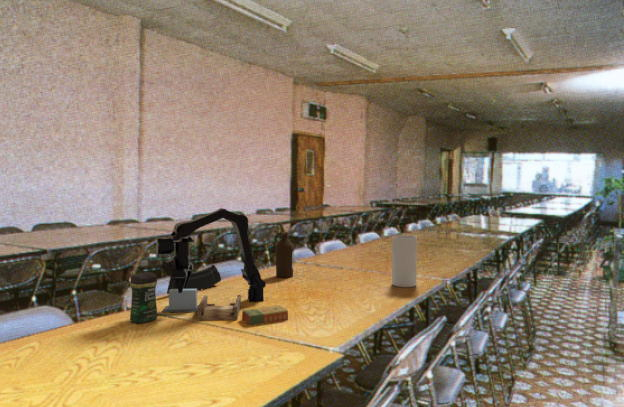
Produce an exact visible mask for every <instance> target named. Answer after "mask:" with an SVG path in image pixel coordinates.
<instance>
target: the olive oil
mask: <svg viewBox="0 0 624 407" xmlns="http://www.w3.org/2000/svg"><path fill="white" fill-rule="evenodd" d="M288 233H289V232H288V231H282V232H281V239H280V240H279V241H278V242H277V243H276V245H275V247H274V248H275V249H274V250H275V252H274V254H275V276H276V277H277V278H278V279H279V278H280V279H288V278H289V279H290V278H292V277H294V262H295V246H294V244H293V243H292V242H291V241H290V240H289V238H288V236H289V234H288Z"/></svg>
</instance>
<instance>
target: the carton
mask: <svg viewBox="0 0 624 407" xmlns="http://www.w3.org/2000/svg"><path fill="white" fill-rule="evenodd" d="M241 312H242V313H241V320H242V321H243V322H244V321H245V322H244V323H246V324H247V325H248V324H249V326H254V324H256V325H262V324H261V323H263V324H268V323H274V322H275V323H276V322H281V321H288V320H289V313H288V312H289V311H288V309H287V308H285V307H284V306H281V305H272V306H266V307H265V306H264V307H258V308H253V309H251V308H250V309H246V310H245V309H244V310H242V311H241Z"/></svg>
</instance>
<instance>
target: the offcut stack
mask: <svg viewBox="0 0 624 407" xmlns="http://www.w3.org/2000/svg"><path fill="white" fill-rule="evenodd" d="M213 315H234V306H230V305H215V306H206V307H205V309H204V314H203V316H213Z"/></svg>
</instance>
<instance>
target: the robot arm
mask: <svg viewBox="0 0 624 407" xmlns="http://www.w3.org/2000/svg"><path fill="white" fill-rule="evenodd" d="M221 219H224V220H226V221H229V222H231V223H230V224H231V226H232V228H233V230H234V232H235V233H236V235H237V238H238V243H239V247H240V252H241V255H242V261H243V268H241V269H240V272H241V274H242V275H241V276H242V279H244V280H245V282H246V283H247V285H248V286H249V287H248V288H247V299H248V302H264V301H265V300H264V299H265V297H264V289H265V288H266V285H267V282H266V281H264V280H263V279H262V276H261V273H260V271H259V269H258V268H257V266H256V263H255V260H254V256H253V255H254V254H253V252H252V246H251V243H250V239H249V233H248V232H249V218H248V217H247V216H246V215H245V214H242V213H241V214H240V213H234V212H233V211H230V210H228V209H226V208H221V207H220V208H218V209H217V210H214V211H211V212H210V213H207V214H204V215H202V216H200V217H197V218H195V219H192V220H185V221H180V222H177V223H175V224H174V226H173V231H172V232H171V233H170V235H169V236H168V237H157V238H156V243H155V254H156V255H172V253H174V256H173V257H172V259H170V260H164V261H162V262H161V263H160V269H161V270H162V272H166V271H167V270H171V269H172V270H171V271H170V272H169V278H172V279H173V280H175V281H176V285H177V288H178V292H179V293H182V291H183V288H186V286H187V283H188V281H189V278H190V276H191V273H193V272H194V263H192V262H190V258H191V254H190V243H194V242H195V239H193V238H192V236H191V234H193V233H195V232H196V231H197V230H199V229H200V228H203V227H206V226H208V225H209V224H212V223H215V222H217V221H219V220H221Z"/></svg>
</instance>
